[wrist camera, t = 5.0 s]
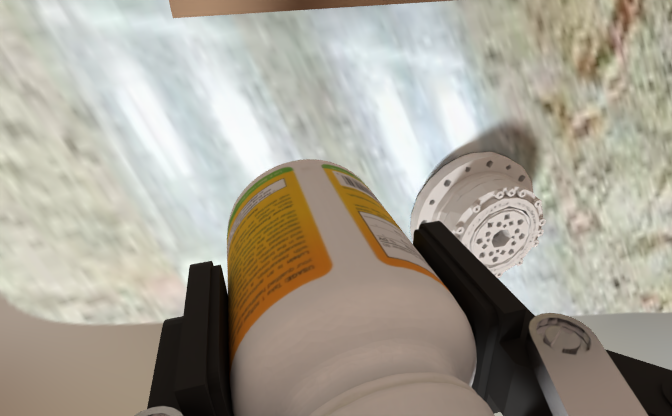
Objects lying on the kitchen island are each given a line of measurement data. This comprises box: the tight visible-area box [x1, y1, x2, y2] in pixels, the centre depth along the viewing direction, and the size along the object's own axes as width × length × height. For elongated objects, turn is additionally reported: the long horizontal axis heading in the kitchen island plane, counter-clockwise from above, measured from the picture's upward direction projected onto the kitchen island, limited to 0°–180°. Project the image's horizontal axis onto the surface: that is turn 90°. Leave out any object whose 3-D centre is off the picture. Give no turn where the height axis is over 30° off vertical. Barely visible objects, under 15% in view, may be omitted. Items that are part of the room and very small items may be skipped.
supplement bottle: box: [227, 159, 494, 416], centre depth 10 cm, size 5×5×10 cm
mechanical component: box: [410, 152, 546, 278], centre depth 30 cm, size 10×4×10 cm
